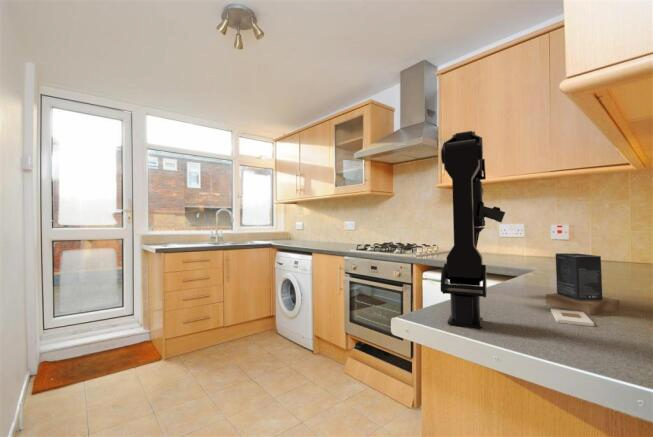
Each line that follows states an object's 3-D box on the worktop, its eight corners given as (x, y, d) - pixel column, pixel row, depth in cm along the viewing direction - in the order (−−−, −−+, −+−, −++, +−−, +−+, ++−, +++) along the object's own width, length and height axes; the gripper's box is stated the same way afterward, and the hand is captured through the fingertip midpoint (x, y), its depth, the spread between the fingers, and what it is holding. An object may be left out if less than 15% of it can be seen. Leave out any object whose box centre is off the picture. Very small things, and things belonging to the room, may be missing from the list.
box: (603, 301, 71) (601, 255, 71) (577, 300, 72) (575, 256, 72) (579, 293, 79) (578, 252, 79) (556, 293, 79) (554, 252, 80)
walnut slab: (589, 314, 69) (588, 303, 69) (546, 304, 78) (545, 294, 79) (619, 310, 72) (619, 299, 72) (574, 300, 81) (574, 291, 81)
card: (594, 326, 61) (594, 322, 61) (557, 322, 64) (557, 318, 64) (583, 314, 69) (583, 311, 69) (550, 311, 72) (550, 308, 72)
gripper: (503, 194, 78) (505, 254, 78) (502, 198, 94) (504, 249, 94) (456, 196, 84) (458, 253, 83) (463, 201, 100) (464, 248, 100)
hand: (473, 251), depth 90 cm, fingers open, 9 cm apart
